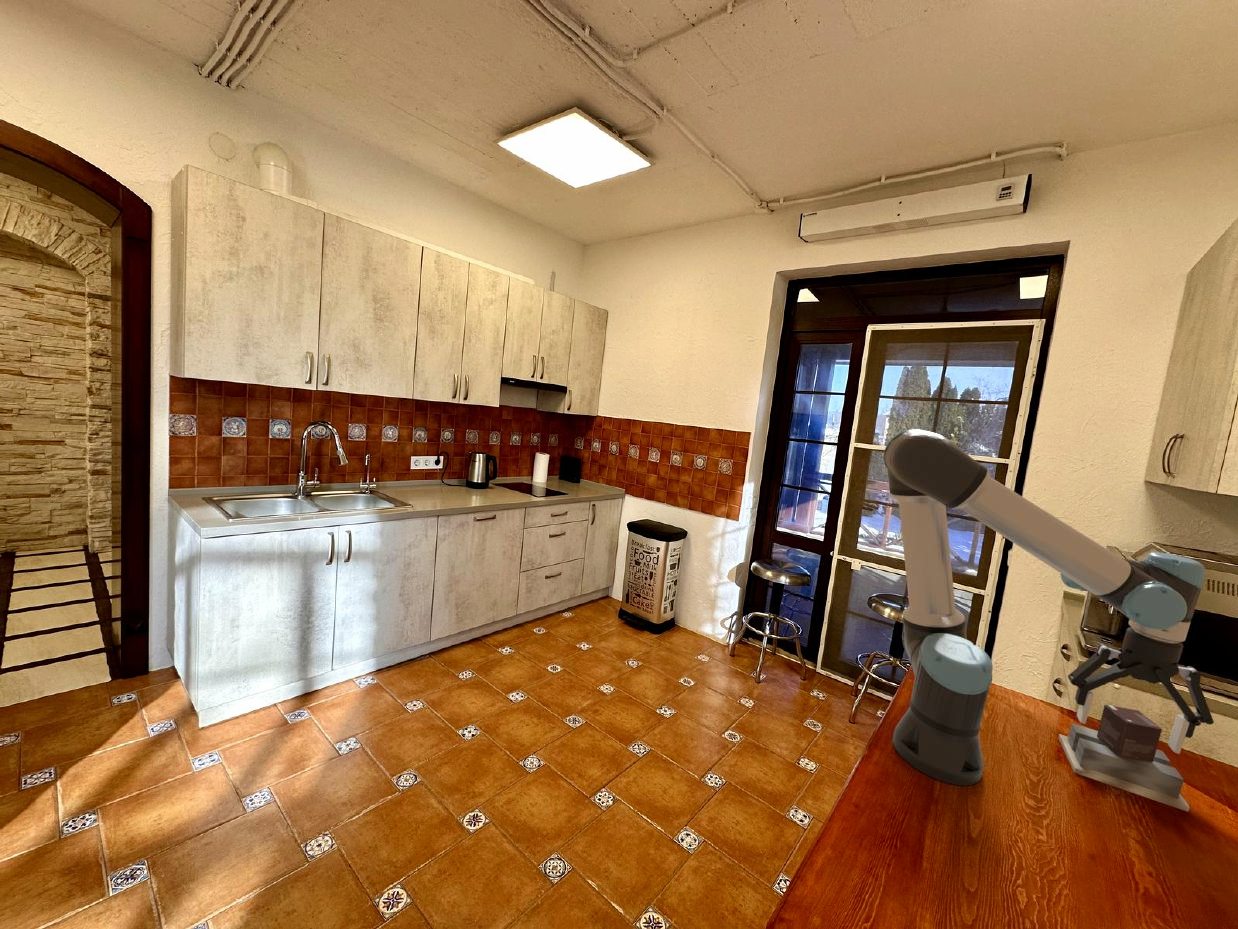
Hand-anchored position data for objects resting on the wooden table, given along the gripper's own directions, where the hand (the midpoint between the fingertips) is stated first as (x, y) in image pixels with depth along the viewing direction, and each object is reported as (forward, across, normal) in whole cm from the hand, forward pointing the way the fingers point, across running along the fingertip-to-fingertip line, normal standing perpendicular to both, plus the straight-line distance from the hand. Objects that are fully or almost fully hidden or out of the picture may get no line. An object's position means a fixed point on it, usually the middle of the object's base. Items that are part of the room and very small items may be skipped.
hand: (1125, 734), depth 99 cm
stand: (+8, 0, 0) cm, 8 cm away
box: (+3, 0, 0) cm, 3 cm away
